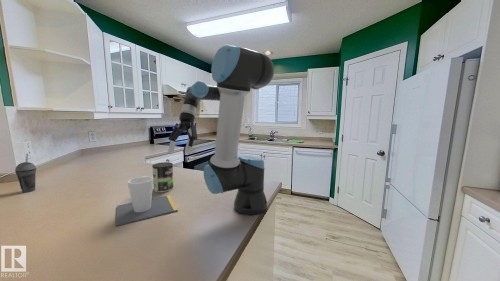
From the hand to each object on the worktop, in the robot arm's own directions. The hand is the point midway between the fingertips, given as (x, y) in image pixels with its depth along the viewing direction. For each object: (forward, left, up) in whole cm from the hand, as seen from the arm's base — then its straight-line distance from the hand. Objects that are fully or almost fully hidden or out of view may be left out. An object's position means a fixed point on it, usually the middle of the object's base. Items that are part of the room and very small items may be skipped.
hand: (178, 153), depth 96 cm
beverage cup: (+46, +67, -22) cm, 84 cm away
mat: (-8, +16, -22) cm, 28 cm away
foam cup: (-8, +17, -22) cm, 29 cm away
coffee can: (+13, +6, -22) cm, 27 cm away
